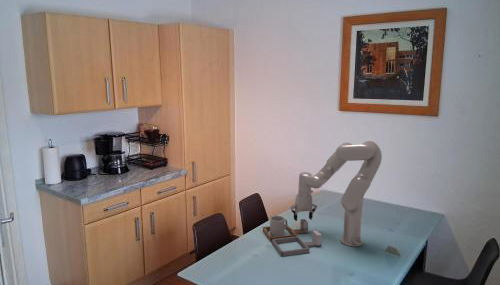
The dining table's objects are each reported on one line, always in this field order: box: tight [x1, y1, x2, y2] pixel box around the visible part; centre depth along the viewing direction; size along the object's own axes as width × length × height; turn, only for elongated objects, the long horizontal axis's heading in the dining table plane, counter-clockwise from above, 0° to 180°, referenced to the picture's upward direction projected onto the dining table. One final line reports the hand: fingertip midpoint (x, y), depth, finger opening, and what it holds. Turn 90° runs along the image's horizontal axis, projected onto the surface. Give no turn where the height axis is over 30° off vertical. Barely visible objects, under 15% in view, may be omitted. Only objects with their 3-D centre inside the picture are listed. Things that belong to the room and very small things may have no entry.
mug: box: [269, 215, 288, 237], centre depth 223 cm, size 12×8×11 cm
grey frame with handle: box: [271, 230, 322, 257], centre depth 208 cm, size 16×26×7 cm, turn 105°
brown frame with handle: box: [262, 218, 309, 243], centre depth 225 cm, size 16×26×7 cm, turn 105°
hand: (302, 219), depth 227 cm, fingers open, 9 cm apart
